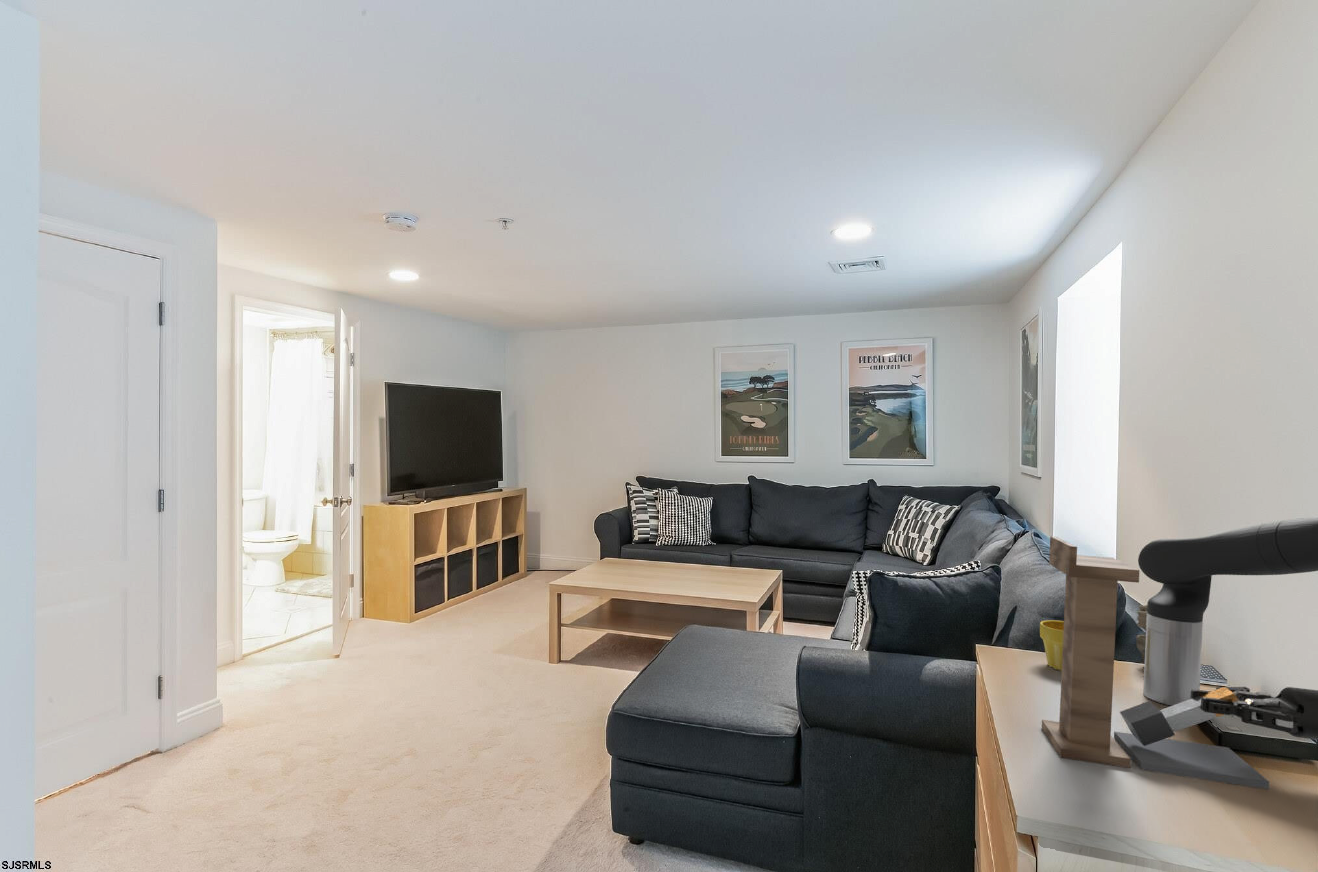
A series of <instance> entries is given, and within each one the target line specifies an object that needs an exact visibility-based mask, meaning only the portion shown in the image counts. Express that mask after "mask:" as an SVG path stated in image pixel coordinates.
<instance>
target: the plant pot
mask: <svg viewBox="0 0 1318 872" xmlns="http://www.w3.org/2000/svg"><path fill="white" fill-rule="evenodd" d="M1063 632H1064V620H1053V619H1051V620H1042V621H1040V623H1039V637H1040V638H1041V639H1042V641H1043V646H1044V651H1045V657H1046V661H1047V665H1049V666H1048V667H1050V668H1051V667H1053V668H1052V669H1054V668H1055V669H1054V670H1056V669H1058V670H1057V671H1060V670H1062V654H1063Z"/></svg>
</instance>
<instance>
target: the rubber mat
mask: <svg viewBox="0 0 1318 872" xmlns="http://www.w3.org/2000/svg"><path fill="white" fill-rule="evenodd" d="M1113 739H1114V740H1115V741H1116V742H1117V743H1118V744H1119V746H1120V747H1121V748H1122V749H1123V750H1124V751H1125V753H1126V754H1127V755H1128V756H1129V757H1130V758H1131V761H1133V762H1134V764H1135V765H1136V766H1137V767H1138V768H1139V769H1140V770H1141V771H1148V772H1154V773H1162V774H1166V775H1167V774H1168V775H1174V776H1179V777H1187V778H1192V779H1198V780H1206V781H1213V782H1219V783H1224V784H1225V783H1227V784H1233V785H1240V786H1245V787H1253V788H1259V789H1266V790H1269V789H1270V781H1269V780H1268V779H1267V778H1266V777H1264V776H1263V775H1262V774H1261V773H1260V772H1258V770H1256V769H1255V768H1253V766H1251V765H1250V764H1249V763H1248V762H1246V761H1245V760H1244V759H1242V757H1241V756H1239V755H1238V754H1237V753H1236V752H1234V751H1233V749H1230V747H1226V746H1221V745H1220V746H1219V745H1212V744H1205V743H1199V742H1192V741H1186V740H1185V741H1184V740H1177V739H1170V738H1166V739H1163V740H1160V741H1157V742H1155V743H1152V744H1149V745H1146V746H1143V745H1142V744H1141V743H1140V742H1139V740H1138V739H1137V738H1136V737H1135V736H1134V735H1133V734H1132V733H1126V732H1120V731H1113Z"/></svg>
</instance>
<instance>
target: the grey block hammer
mask: <svg viewBox="0 0 1318 872" xmlns="http://www.w3.org/2000/svg"><path fill="white" fill-rule="evenodd" d="M1221 687H1222V688H1220V689H1217V690H1216V689H1214V690H1212V691H1211V692H1209V693H1206V694H1204V695H1201V696H1198V697H1195V698H1192V699H1189V700H1187V701H1184V702H1181V703H1178V704H1176V705H1173V706H1171V705H1169V706H1168V707H1166V708H1165V707H1164V708H1162V709H1159V708H1158V707H1156V706H1155V704H1153V703H1152V702H1151V701H1150V700H1149V701H1145V702H1142V703H1140V704H1137V705H1134V706H1132V707H1129V708H1126V709H1124V710H1121V711H1119V714H1120V715H1121V717H1122V719H1123V720H1124V722H1125V724H1126V725H1127V727H1128V729H1129V731H1130V732H1131V733H1130V734H1133V735H1134V736H1135V737H1136V738H1137V739H1138V740H1139V742H1140V743H1141V744H1142V745H1143V746H1146V745H1149V744H1152V743H1155V742H1157V741H1160V740H1163V739H1170V738H1171V737H1174V736H1176V734H1175V732H1179V731H1181V730H1184V729H1187V728H1189V727H1193V726H1195V725H1198V724H1201V723H1203V722H1206V721H1209V720H1213V719H1214V718H1215V719H1216V718H1218V717H1221V716H1224V714H1216V713H1208V712H1204V711H1203V710H1202V709H1201V698H1203V697H1207V698H1216V699H1223V700H1229V701H1230V703H1231V701H1232V700H1236V701H1239V700H1238V699H1237V697H1236V695H1235V694H1234V693H1233V692H1232V691H1230V690H1229V689H1227V688H1226V687H1227V686H1226V687H1225V686H1221Z"/></svg>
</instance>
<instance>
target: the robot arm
mask: <svg viewBox="0 0 1318 872" xmlns="http://www.w3.org/2000/svg"><path fill="white" fill-rule="evenodd" d="M1137 558H1138V559H1137V562H1138V563H1137V564H1138V567H1139V569H1140V570H1141V572H1142V573H1143V574H1144V576H1146V577H1147V578H1149V579H1150V580H1152V581H1154V582H1156V583H1159V584H1162V588H1161V589H1160V590H1159V592H1157V593H1156V594H1155V595H1153V596H1152V597H1150V598H1149V599H1148V601H1147V604H1146V605H1147V623H1146V631H1145V634H1146V646H1145V664H1144V670H1143V671H1144V672H1143V690H1142V694H1143V695H1144V696H1145V697H1146V698H1147V699H1149V700H1152V701H1154V702H1156V703H1159V704H1164V705H1167V706H1173V705H1176V704H1178V703H1181V702H1184V701H1187V700H1189V699H1192V698H1195V697H1198V696H1201V695H1204V694H1206V693H1209V692H1211V691H1210V690H1204V689H1203V690H1200V689H1201V687H1200V686H1201V668H1202V667H1201V666H1202V648H1203V646H1202V645H1203V644H1202V643H1203V624H1204V622H1203V621H1204V619H1203V618H1204V613H1205V611H1206V610H1207V608H1208V606H1209V604H1210V603H1209V602H1210V594H1211V585H1212V577H1213V576H1218V575H1219V576H1220V575H1221V576H1224V575H1225V576H1277V575H1279V576H1280V575H1291V574H1301V573H1302V574H1303V573H1304V574H1305V573H1311V572H1318V517H1304V518H1292V519H1286V520H1285V519H1284V520H1280V521H1273V522H1267V523H1260V524H1255V525H1251V526H1246V527H1241V528H1237V529H1233V530H1228V531H1224V532H1221V533H1216V534H1212V535H1207V536H1203V537H1202V536H1200V537H1194V538H1193V537H1192V538H1163V539H1162V538H1160V539H1155V540H1153V541H1150V542H1149V543H1147V544H1146V545H1145V546H1144V547H1142V549H1141V550H1140V552H1139V554H1138V557H1137ZM1222 687H1223V686H1220V687H1215V690H1217V689H1220V688H1222ZM1226 688H1227V689H1229V690H1230V691H1232V692H1233V693H1234V694H1235V695H1236V697H1237V699H1238V700H1239V701H1236V700H1232V701H1231V703H1230V701H1229V700H1223V699H1216V698H1207V697H1203V698H1201V709H1202V710H1203V711H1204V712H1208V713H1216V714H1224V715H1226V716H1230V717H1231V718H1234V719H1239V720H1240V719H1241V722H1243V723H1244V724H1250V725H1253V726H1258V727H1263V728H1267V729H1271V730H1276V731H1281V732H1284V733H1288V734H1289V735H1290V736H1292V737H1296V738H1301V739H1308V740H1314V741H1315V740H1317V741H1318V689H1310V688H1299V687H1292V686H1291V687H1290V686H1289V687H1284V688H1283V689H1282V690H1281V691H1279V694H1278V695H1277V696H1275V697H1274V696H1272V694H1269V693H1266V692H1260V691H1257V692H1251V689H1250V688H1249V687H1247V686H1226ZM1224 715H1223V716H1224Z"/></svg>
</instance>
